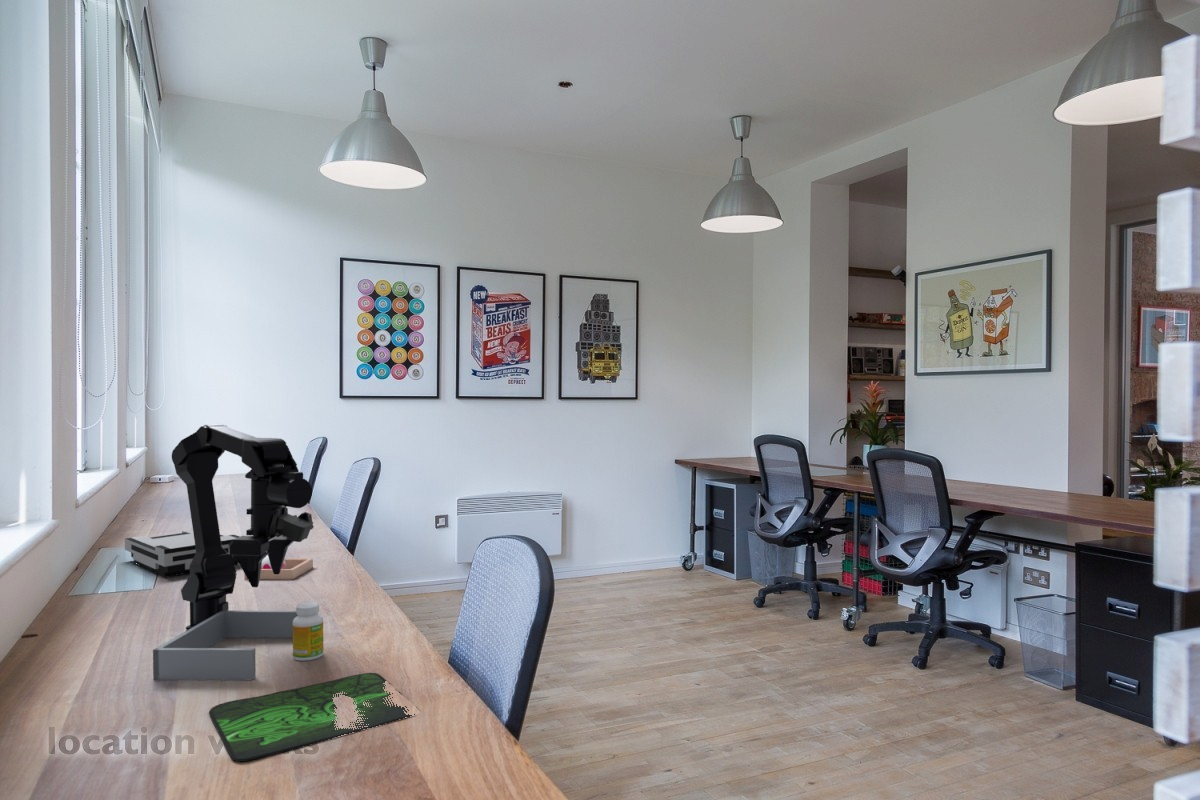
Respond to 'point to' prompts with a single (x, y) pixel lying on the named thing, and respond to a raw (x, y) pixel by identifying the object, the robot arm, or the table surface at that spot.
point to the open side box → (200, 662)
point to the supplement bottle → (307, 632)
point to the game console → (168, 552)
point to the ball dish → (297, 569)
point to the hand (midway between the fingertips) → (266, 580)
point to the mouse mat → (299, 716)
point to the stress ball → (267, 564)
